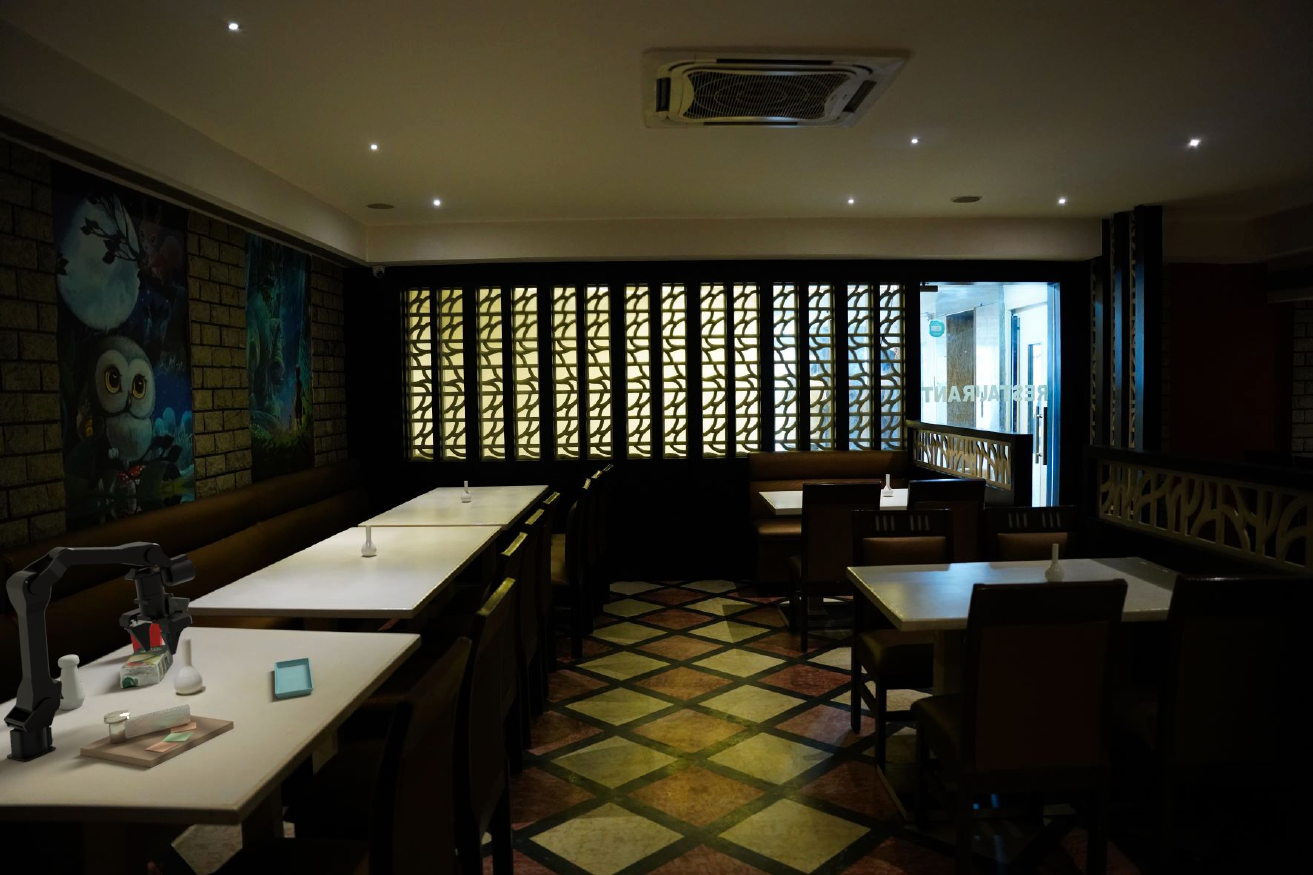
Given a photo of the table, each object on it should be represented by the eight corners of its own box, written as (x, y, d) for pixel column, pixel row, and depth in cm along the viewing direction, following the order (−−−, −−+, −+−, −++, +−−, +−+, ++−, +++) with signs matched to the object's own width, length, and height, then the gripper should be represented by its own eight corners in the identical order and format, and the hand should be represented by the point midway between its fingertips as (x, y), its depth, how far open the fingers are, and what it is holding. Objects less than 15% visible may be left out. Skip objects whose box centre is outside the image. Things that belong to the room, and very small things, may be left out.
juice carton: (160, 684, 224) (159, 662, 224) (118, 690, 221) (116, 668, 220) (175, 663, 243) (173, 642, 243) (136, 668, 240) (134, 647, 239)
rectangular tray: (314, 695, 214) (314, 686, 214) (275, 701, 210) (274, 692, 210) (310, 665, 238) (309, 657, 238) (274, 670, 234) (274, 662, 234)
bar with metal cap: (107, 746, 180) (105, 720, 180) (104, 739, 184) (102, 714, 184) (192, 725, 191) (190, 700, 191) (187, 719, 195) (186, 694, 194)
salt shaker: (71, 712, 206) (67, 660, 205) (51, 710, 207) (47, 659, 206) (91, 703, 211) (87, 652, 211) (72, 702, 213) (68, 652, 212)
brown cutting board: (151, 767, 174) (150, 759, 174) (80, 754, 181) (80, 746, 181) (233, 727, 193) (233, 720, 193) (167, 717, 201) (166, 710, 201)
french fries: (129, 656, 249) (126, 613, 248) (134, 652, 253) (131, 610, 252) (164, 653, 251) (161, 610, 250) (168, 649, 255) (165, 607, 254)
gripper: (206, 584, 208) (215, 643, 211) (155, 579, 216) (164, 637, 218) (165, 599, 198) (175, 661, 201) (113, 593, 206) (123, 654, 208)
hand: (160, 652), depth 207 cm, fingers open, 9 cm apart
